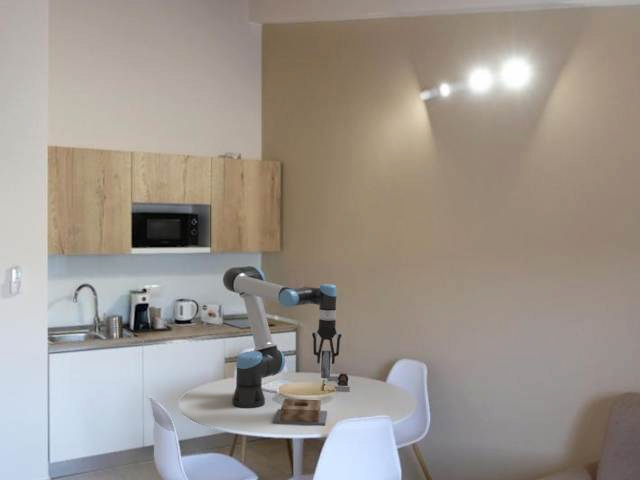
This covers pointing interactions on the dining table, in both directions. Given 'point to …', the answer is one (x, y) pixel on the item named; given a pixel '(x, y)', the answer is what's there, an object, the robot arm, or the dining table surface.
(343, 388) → the parts tray
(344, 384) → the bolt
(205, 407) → the dining table surface
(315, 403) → the socket
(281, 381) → the calculator
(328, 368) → the peg
